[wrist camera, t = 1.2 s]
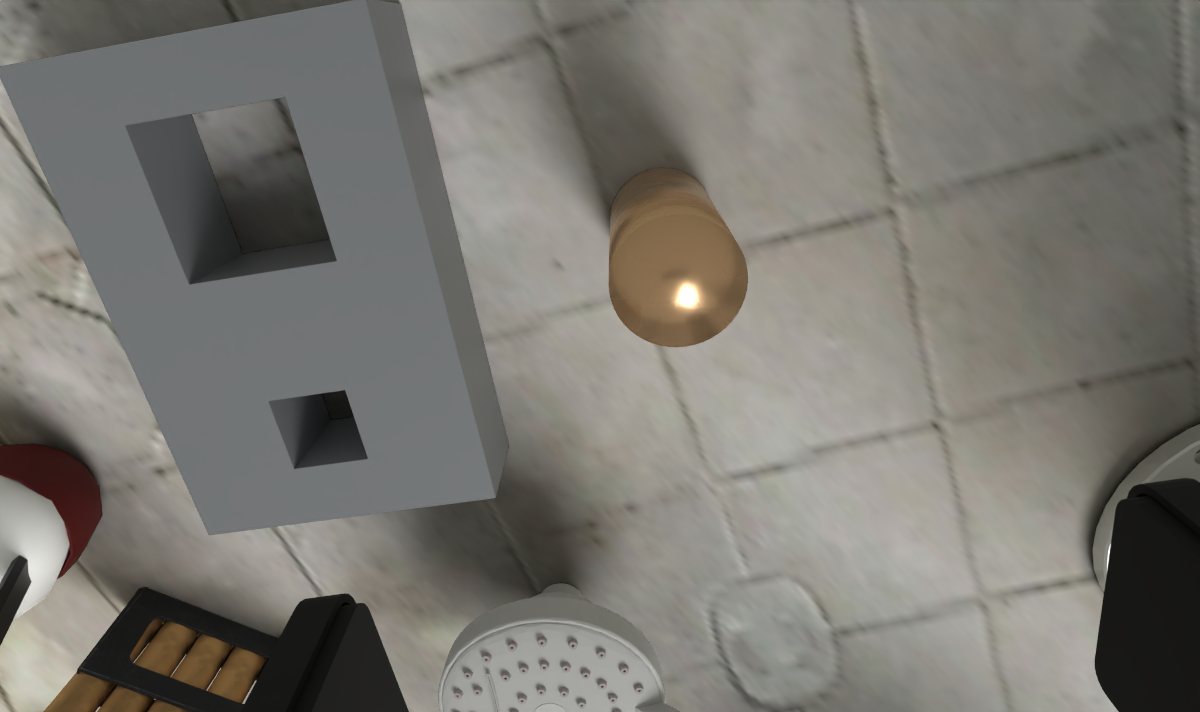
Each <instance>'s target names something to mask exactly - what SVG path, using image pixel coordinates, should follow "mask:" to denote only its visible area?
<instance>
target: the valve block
mask: <svg viewBox="0 0 1200 712" xmlns="http://www.w3.org/2000/svg"><path fill="white" fill-rule="evenodd" d="M0 78H1V81H2V83H3V85H4V87H5V89H6V92H7V94H8V96H9V98H10V100H11V103H12V105H13V107H14V109H15V111H16V114H17V116H18V118H19V120H20V122H21V124H22V127H23V129H24V131H25V133H26V135H27V138H28V140H29V142H30V144H31V146H32V149H33V151H34V153H35V155H36V157H37V160H38V162H39V164H40V166H41V168H42V170H43V173H44V175H45V177H46V179H47V181H48V184H49V186H50V188H51V190H52V192H53V195H54V197H55V199H56V201H57V203H58V206H59V208H60V210H61V212H62V214H63V216H64V219H65V221H66V223H67V225H68V227H69V230H70V232H71V234H72V236H73V238H74V241H75V243H76V245H77V247H78V249H79V252H80V254H81V256H82V258H83V260H84V262H85V265H86V267H87V269H88V271H89V273H90V276H91V278H92V280H93V282H94V284H95V287H96V289H97V291H98V293H99V295H100V298H101V300H102V302H103V304H104V306H105V308H106V311H107V313H108V315H109V317H110V319H111V322H112V324H113V326H114V328H115V330H116V333H117V335H118V337H119V339H120V341H121V344H122V346H123V348H124V350H125V352H126V354H127V357H128V359H129V361H130V363H131V365H132V368H133V370H134V372H135V374H136V376H137V379H138V381H139V383H140V385H141V387H142V390H143V392H144V394H145V396H146V398H147V401H148V403H149V405H150V407H151V409H152V411H153V414H154V416H155V418H156V420H157V422H158V425H159V427H160V429H161V431H162V433H163V436H164V438H165V440H166V442H167V444H168V447H169V449H170V451H171V453H172V455H173V457H174V460H175V462H176V464H177V466H178V468H179V471H180V473H181V475H182V477H183V479H184V482H185V484H186V486H187V488H188V490H189V493H190V495H191V497H192V499H193V501H194V503H195V506H196V508H197V510H198V512H199V514H200V517H201V519H202V521H203V523H204V525H205V528H206V530H207V532H208V534H209V535H214V534H222V533H230V532H238V531H245V530H253V529H261V528H268V527H276V526H284V525H292V524H299V523H307V522H315V521H323V520H330V519H338V518H346V517H353V516H361V515H369V514H377V513H384V512H392V511H400V510H408V509H415V508H423V507H431V506H438V505H446V504H454V503H462V502H469V501H477V500H485V499H492V498H496V495H497V491H498V487H499V484H500V480H501V476H502V472H503V468H504V464H505V460H506V456H507V452H508V448H509V444H508V440H507V436H506V432H505V428H504V424H503V420H502V416H501V411H500V407H499V403H498V399H497V395H496V391H495V387H494V383H493V379H492V375H491V371H490V367H489V362H488V358H487V354H486V350H485V346H484V342H483V338H482V334H481V330H480V326H479V322H478V318H477V313H476V309H475V305H474V301H473V297H472V293H471V289H470V285H469V281H468V277H467V273H466V268H465V264H464V260H463V256H462V252H461V248H460V244H459V240H458V236H457V232H456V228H455V224H454V219H453V215H452V211H451V207H450V203H449V199H448V195H447V191H446V187H445V183H444V179H443V175H442V170H441V166H440V162H439V158H438V154H437V150H436V146H435V142H434V138H433V134H432V130H431V126H430V121H429V117H428V113H427V109H426V105H425V101H424V97H423V93H422V89H421V85H420V81H419V77H418V72H417V68H416V64H415V60H414V56H413V52H412V48H411V44H410V40H409V36H408V32H407V27H406V23H405V19H404V15H403V11H402V7H401V4H398V3H392V2H386V1H380V0H351V1H346V2H341V3H335V4H330V5H325V6H319V7H314V8H309V9H303V10H298V11H293V12H287V13H282V14H277V15H271V16H266V17H261V18H255V19H250V20H245V21H240V22H234V23H229V24H224V25H218V26H213V27H208V28H202V29H197V30H192V31H186V32H181V33H176V34H170V35H165V36H160V37H154V38H149V39H144V40H138V41H133V42H128V43H123V44H117V45H112V46H107V47H101V48H96V49H91V50H85V51H80V52H75V53H69V54H64V55H59V56H53V57H48V58H43V59H37V60H32V61H27V62H22V63H16V64H11V65H6V66H0ZM284 97H285V98H286V101H287V104H288V107H289V111H290V114H291V117H292V120H293V123H294V126H295V130H296V133H297V136H298V139H299V142H300V145H301V149H302V152H303V155H304V158H305V161H306V164H307V168H308V171H309V174H310V177H311V180H312V183H313V187H314V190H315V193H316V196H317V199H318V203H319V206H320V209H321V212H322V215H323V218H324V222H325V225H326V228H327V231H328V234H329V237H330V240H326V241H319V242H313V243H307V244H301V245H295V246H288V247H282V248H276V249H270V250H264V251H257V252H251V253H245V254H242V252H241V249H240V246H239V243H238V241H237V238H236V235H235V232H234V230H233V227H232V224H231V222H230V219H229V216H228V213H227V211H226V208H225V205H224V202H223V200H222V197H221V194H220V192H219V189H218V186H217V183H216V181H215V178H214V175H213V172H212V170H211V167H210V164H209V162H208V159H207V156H206V153H205V151H204V148H203V145H202V142H201V140H200V137H199V134H198V132H197V129H196V126H195V123H194V121H193V118H192V115H191V114H194V113H200V112H205V111H211V110H216V109H222V108H228V107H233V106H239V105H244V104H250V103H256V102H261V101H267V100H272V99H278V98H284ZM342 390H345V391H346V394H347V397H348V400H349V403H350V406H351V409H352V412H353V415H354V417H349V418H342V419H335V420H330V417H329V414H328V411H327V408H326V405H325V402H324V400H323V397H322V394H321V393H328V392H335V391H342Z"/></svg>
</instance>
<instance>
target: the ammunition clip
mask: <svg viewBox="0 0 1200 712" xmlns="http://www.w3.org/2000/svg"><path fill="white" fill-rule="evenodd" d="M278 640H279V639H278V638H276V637H273V636H270V635H268V634H265V633H263V632H260V631H258V630H255V629H252V628H250V627H247V626H245V625H242V624H239V623H237V622H234V621H232V620H229V619H227V618H224V617H221V616H219V615H216V614H214V613H211V612H208V611H206V610H203V609H201V608H198V607H196V606H193V605H190V604H188V603H185V602H183V601H180V600H177V599H175V598H172V597H170V596H167V595H165V594H162V593H159V592H157V591H154V590H152V589H149V588H147V587H144V588H140V589H139V590H138V591H137V592H136V594H135V595H134V596H133V598H132V599H131V600H130V601H129V603H128V604H127V605H126V607H125V608H124V609H123V611H122V612H121V613H120V614H119V616H118V617H117V618H116V620H115V621H114V622H113V624H112V625H111V626H110V627H109V629H108V630H107V631H106V633H105V634H104V635H103V637H102V638H101V639H100V640H99V642H98V643H97V644H96V646H95V647H94V648H93V650H92V651H91V652H90V653H89V655H88V656H87V657H86V659H85V660H84V661H83V663H82V664H81V665H80V666H79V668H78V670H77V673H76V674H75V675H74V676H73V677H72V679H71V680H70V681H69V682H68V683H67V685H66V686H65V687H64V688H63V689H62V691H61V692H60V693H59V694H58V695H57V696H56V698H55V699H54V700H53V701H52V702H51V704H50V705H49V706H48V707H47V708H46V710H45V711H44V712H95V711H96V710H97V708H98V707H101V708H100V709H99V710H98V712H241V710H242V708H243V706H244V704H242V703H243V701H244V699H245V697H246V696H247V694H248V692H249V690H250V688H251V687H252V685H253V683H254V681H255V680H256V681H257V680H258V678H259V676H260V674H261V672H262V670H263V668H264V666H265V665H266V663H267V661H268V659H269V657H270V655H271V653H272V651H273V649H274V648H275V646H276V644H277V642H278ZM148 643H149V644H148ZM147 644H148V646H147ZM146 646H147V647H146ZM145 647H146V648H145ZM144 648H145V650H144V651H143V649H144ZM142 651H143V652H142ZM141 652H142V654H141V655H140V653H141ZM185 654H186V656H185ZM139 655H140V656H139ZM138 656H139V658H138V659H137V660H136V658H137V657H138ZM184 656H185V658H184V659H183V657H184ZM182 659H183V661H182V662H181V664H180V665H179V667H178V668H177V670H176V671H175V672H174V674H173V675H172V677H170V676H171V674H172V673H173V671H174V670H175V669H176V667H177V666H178V664H179V663H180V661H181V660H182ZM135 660H136V662H135V663H133V662H134V661H135ZM220 668H221V670H220V671H219V669H220ZM218 671H219V673H218V675H217V676H216V674H217V672H218ZM215 676H216V678H215V680H214V681H213V683H212V684H211V686H210V688H209V689H208V691H206V690H207V688H208V687H209V685H210V683H211V682H212V680H213V679H214V677H215ZM154 699H156V700H154Z"/></svg>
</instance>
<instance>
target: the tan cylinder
mask: <svg viewBox="0 0 1200 712" xmlns="http://www.w3.org/2000/svg"><path fill="white" fill-rule="evenodd" d="M747 284H748V272H747V266H746V262H745V258H744V255H743V253H742V251H741V249H740V247H739V245H738V244H737V242H736V240H735V239H734V237H733V235H732V234H731V232H730V230H729V229H728V227H727V226H726V224H725V222H724V221H723V219H722V217H721V216H720V214H719V212H718V211H717V209H716V207H715V206H714V204H713V202H712V201H711V199H710V198H709V196H708V194H707V193H706V191H705V190H704V188H703V187H702V186H701V184H700V183H699V182H698V181H697V180H695V179H694V178H693V177H691V176H690V175H688V174H686V173H684V172H682V171H679V170H676V169H671V168H654V169H650V170H647V171H644V172H641V173H639V174H637V175H636V176H634V177H633V178H631V179H630V180H629V181H628V182H627V183H625V184H624V186H623V187H622V188H621V189H620V191H619V192H618V194H617V195H616V197H615V200H614V202H613V205H612V208H611V214H610V248H609V292H610V297H611V301H612V304H613V307H614V309H615V311H616V313H617V315H618V317H619V318H620V319H621V321H622V322H623V323H624V325H625V326H626V327H627V328H628V329H629V330H631V331H632V332H633V333H634V334H636V335H637V336H639V337H640V338H642V339H644V340H646V341H648V342H651V343H654V344H657V345H661V346H667V347H684V346H690V345H695V344H698V343H701V342H704V341H706V340H708V339H710V338H712V337H714V336H715V335H717V334H718V333H720V332H721V331H722V330H723V329H725V328H726V327H727V326H728V325H729V324H730V323H731V322H732V320H733V319H734V318H735V316H736V315H737V313H738V312H739V310H740V308H741V306H742V304H743V301H744V299H745V295H746V291H747Z"/></svg>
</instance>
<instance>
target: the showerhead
mask: <svg viewBox="0 0 1200 712" xmlns="http://www.w3.org/2000/svg"><path fill="white" fill-rule="evenodd" d="M438 701H439V709H440V712H680V711H678V710H677V709H675V708H673V707H671V706H669V705H667V704H665V693H664V684H663V676H662V670H661V666H660V662H659V659H658V656H657V654H656V652H655V650H654V648H653V647H652V645H651V644H650V642H649V641H648V640H647V638H646V637H645V636H644V635H643V634H642V633H641V632H640V631H639V630H638V629H637V628H636V627H635V626H634V625H633V624H631V623H630V622H629V621H627V620H626V619H624V618H623V617H621V616H620V615H618V614H616V613H614V612H612V611H610V610H608V609H606V608H604V607H601V606H599V605H596V604H593V603H592V602H590V601H589V600H587V599H585V598H583V596H582V594H581V592H580V591H579V590H578V589H576V588H575V587H573V586H571V585H568V584H563V583H558V584H553V585H550V586H548V587H547V588H545V589H544V590H543V592H542V593H541V594H539V595H536V596H533V597H531V598H527V599H522V600H518V601H513V602H510V603H506V604H504V605H501V606H499V607H496V608H494V609H492V610H490V611H488V612H486V613H484V614H483V615H481V616H480V617H478V618H477V619H475V620H474V621H473V622H472V623H470V624H469V625H468V626H467V627H466V628H465V629H464V630H463V631H462V632H461V633H460V635H459V636H458V637H457V639H456V640H455V642H454V644H453V646H452V648H451V650H450V652H449V655H448V658H447V661H446V664H445V667H444V670H443V674H442V677H441V680H440V684H439V691H438Z"/></svg>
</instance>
